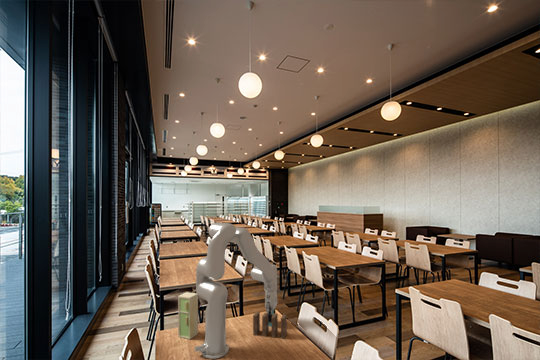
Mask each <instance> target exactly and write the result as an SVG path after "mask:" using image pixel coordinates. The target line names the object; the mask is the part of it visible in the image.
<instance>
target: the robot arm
mask: <svg viewBox="0 0 540 360" xmlns="http://www.w3.org/2000/svg"><path fill="white" fill-rule="evenodd" d="M208 235H209V236H210V238H211V240H210V241H209V243H208V246H207V250H206V252H207V253H206V256H204V257H202V258H201V259H199V261H198V262H197V265H196V269H195V274H196V275H195V291H196V293H197V295H198V297H199V298H200V299H202V300H204V301H206V302H207V305H206V308H205V312H204V313H205V314H204V319H205V321H204V323H205V325H204V337H205V338H204V341H203V343H201V345H197V346H194V352H198V353H200V354H201V355H202V356H203V357H204V358H207V359H211V360H214V359H215V360H216V359H219V358H222V357H224V356H226V355H227V354H229V351H230V346H229V344H227V343H226V342H227V341H226V340H227V339H226V329H227V328H226V327H227V325H226V322H227V321H226V320H227V319H226V315H227V313H226V311H227V299H228V295H229V294H228V293H229V292H228V289H227V286H226V285H225V284H223V283H222V282H219V281H218V280H221V279H222V278H223V277H224V275H225V270H226V269H225V268H226V249H227V246H228V244H229V243H233V244H234V243H235V244H237V245H236V246H238V248H239V250H240V253H241V254H242V257H243V258H244V259H245V260H246V262H247V261H248V262H249V263H250V264H252V265H253V266H254V267H253V268H251V270H250V277H251V278H252V279H253V280H255V281H259V282H262V283H263V290H264V291H265V293H264V307H265V311H266V312H265V313H268V316H269V322H271V317H272V310H274V314H276V307H277V305H278V267H277V265H276V264H272V263H270V262H271V261H269V260H268V259H267V258H266V256H264V254H263V253H262V252H261V251H260V250H259V249H258V248H257V245H256V243H255V241H254V239H253V237H252V235H251V233H250V231H249V230H248V229H247V228H246V227H238V226H235V224H232V223H228V222H213V223H211V225H210V226H209V227H208ZM269 308H271V309H269ZM269 310H271V312H270V311H269Z"/></svg>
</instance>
